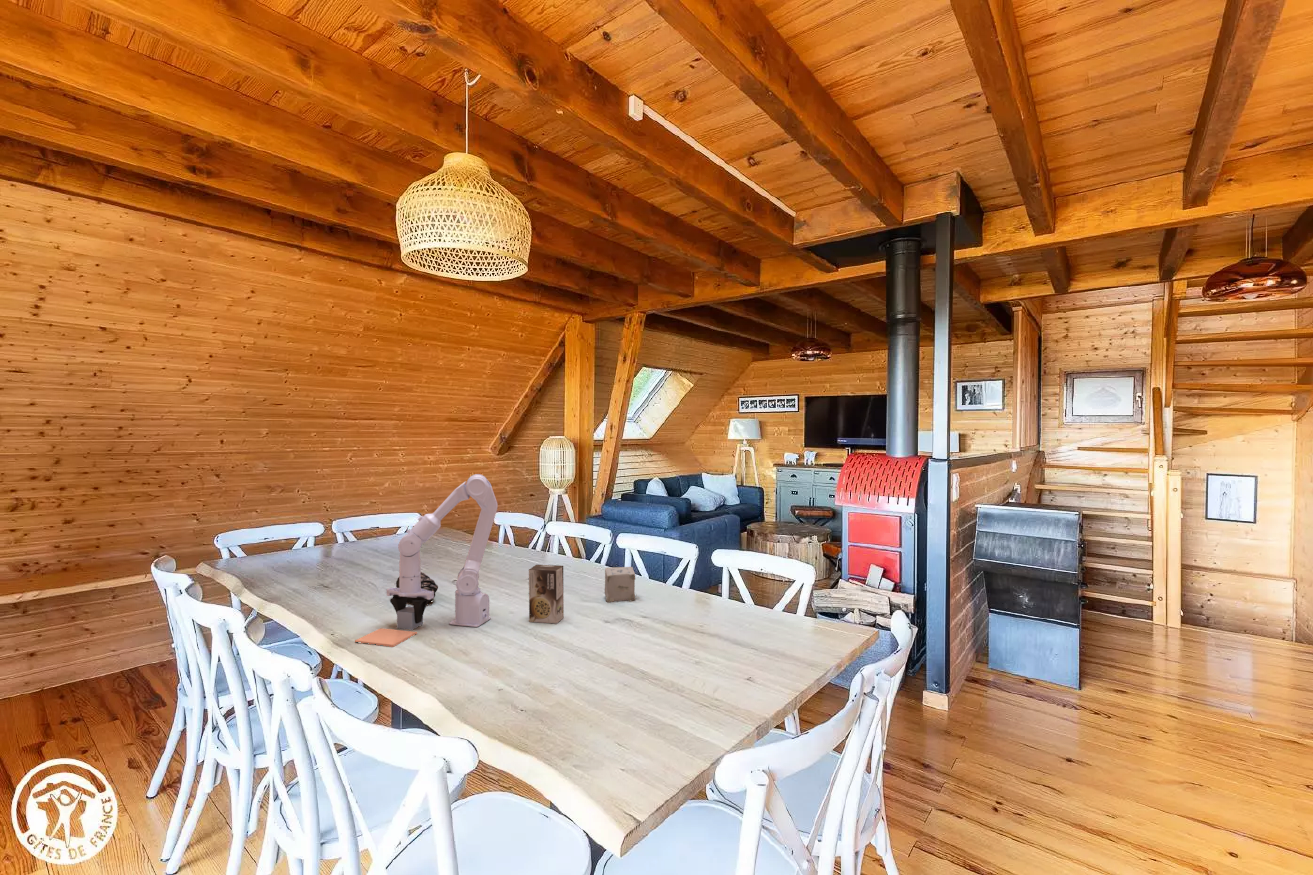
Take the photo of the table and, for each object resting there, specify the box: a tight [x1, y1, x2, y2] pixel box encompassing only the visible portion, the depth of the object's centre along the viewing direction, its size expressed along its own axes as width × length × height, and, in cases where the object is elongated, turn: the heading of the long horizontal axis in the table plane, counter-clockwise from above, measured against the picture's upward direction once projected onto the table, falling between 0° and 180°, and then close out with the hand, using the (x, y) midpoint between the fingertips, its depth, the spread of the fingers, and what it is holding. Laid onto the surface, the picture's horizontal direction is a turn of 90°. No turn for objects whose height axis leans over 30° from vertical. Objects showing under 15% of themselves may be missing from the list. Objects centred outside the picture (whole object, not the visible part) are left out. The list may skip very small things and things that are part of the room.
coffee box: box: [528, 564, 565, 624], centre depth 178 cm, size 9×6×16 cm
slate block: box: [396, 605, 424, 631], centre depth 171 cm, size 5×5×5 cm
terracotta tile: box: [354, 627, 418, 648], centre depth 162 cm, size 12×10×1 cm
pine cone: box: [395, 571, 439, 605], centre depth 197 cm, size 10×18×10 cm, turn 58°
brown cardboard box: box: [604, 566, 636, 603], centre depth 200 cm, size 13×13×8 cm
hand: (410, 621), depth 171 cm, fingers closed on slate block, 5 cm apart
